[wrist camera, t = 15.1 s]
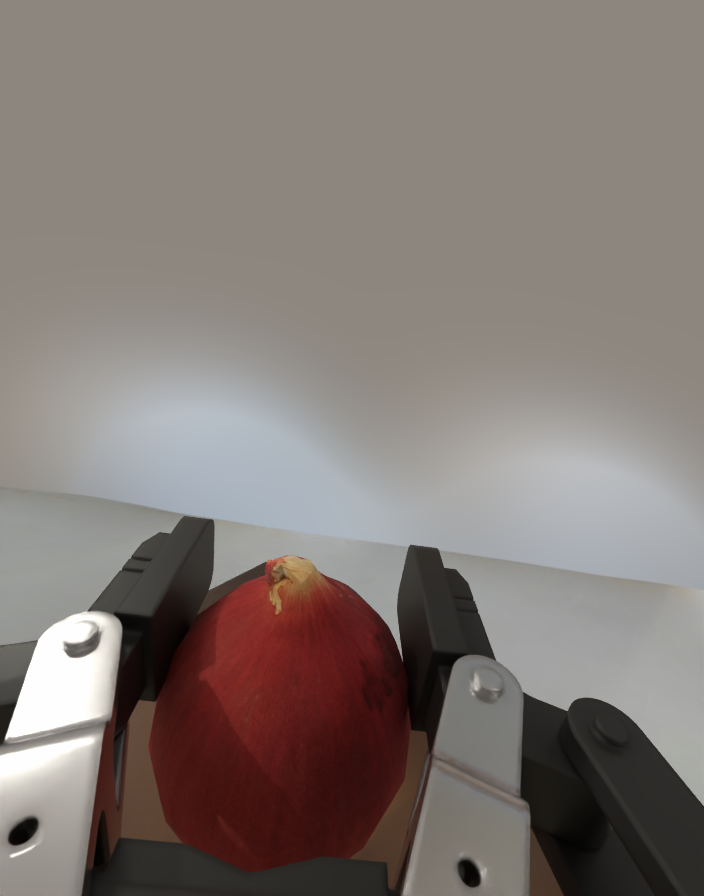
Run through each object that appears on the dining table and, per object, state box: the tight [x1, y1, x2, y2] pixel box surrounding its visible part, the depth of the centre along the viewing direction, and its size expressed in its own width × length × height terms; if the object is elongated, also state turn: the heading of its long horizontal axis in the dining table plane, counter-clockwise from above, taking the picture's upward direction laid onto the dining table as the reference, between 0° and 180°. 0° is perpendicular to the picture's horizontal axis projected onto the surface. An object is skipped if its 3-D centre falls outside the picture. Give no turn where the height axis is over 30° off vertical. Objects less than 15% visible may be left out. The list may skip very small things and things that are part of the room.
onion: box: [148, 556, 411, 872], centre depth 10 cm, size 6×6×8 cm
